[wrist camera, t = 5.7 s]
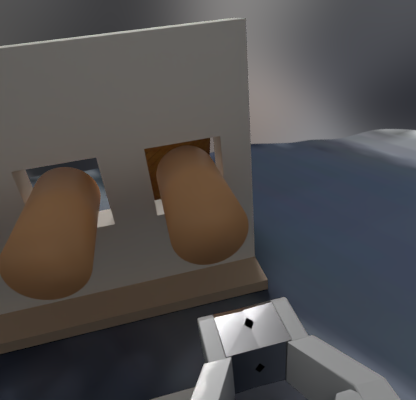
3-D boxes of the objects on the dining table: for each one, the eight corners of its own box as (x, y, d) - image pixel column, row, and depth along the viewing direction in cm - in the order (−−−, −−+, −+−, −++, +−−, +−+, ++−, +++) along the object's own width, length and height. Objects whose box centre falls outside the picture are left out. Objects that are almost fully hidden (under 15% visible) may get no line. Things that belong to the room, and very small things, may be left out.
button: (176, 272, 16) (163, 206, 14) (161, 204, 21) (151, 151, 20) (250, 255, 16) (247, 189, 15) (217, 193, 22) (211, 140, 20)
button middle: (18, 308, 15) (-18, 242, 13) (46, 227, 20) (23, 173, 19) (101, 288, 15) (79, 222, 14) (107, 215, 21) (91, 161, 19)
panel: (-94, 377, 20) (-348, 94, 12) (-44, 291, 26) (-188, 66, 18) (267, 288, 23) (264, 19, 15) (237, 231, 29) (222, 17, 21)
